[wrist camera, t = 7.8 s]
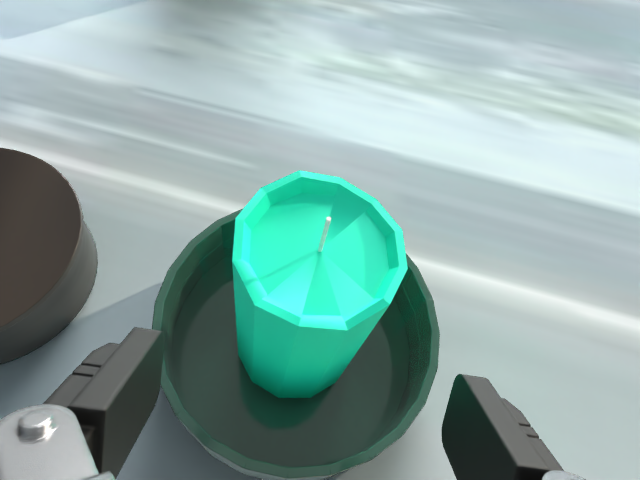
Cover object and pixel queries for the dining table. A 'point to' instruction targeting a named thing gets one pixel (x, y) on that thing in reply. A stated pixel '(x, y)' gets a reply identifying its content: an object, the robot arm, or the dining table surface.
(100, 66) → the dining table surface
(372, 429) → the tin
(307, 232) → the candle
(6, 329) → the stand
